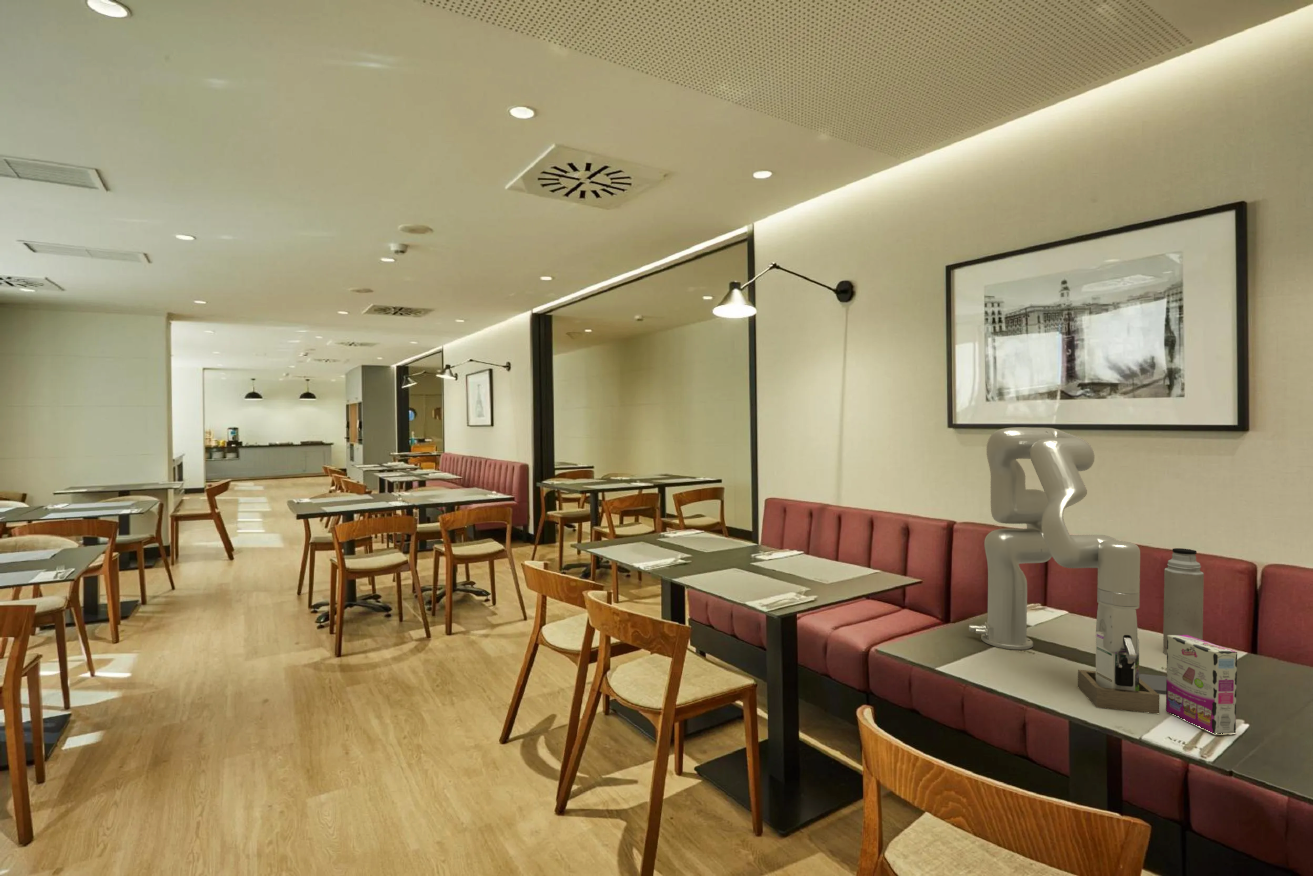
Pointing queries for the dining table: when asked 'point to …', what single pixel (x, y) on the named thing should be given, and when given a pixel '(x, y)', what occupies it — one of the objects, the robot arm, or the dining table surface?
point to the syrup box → (1112, 666)
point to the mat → (1155, 682)
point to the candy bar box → (1201, 683)
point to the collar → (1118, 695)
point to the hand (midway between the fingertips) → (1116, 678)
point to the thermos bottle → (1183, 596)
